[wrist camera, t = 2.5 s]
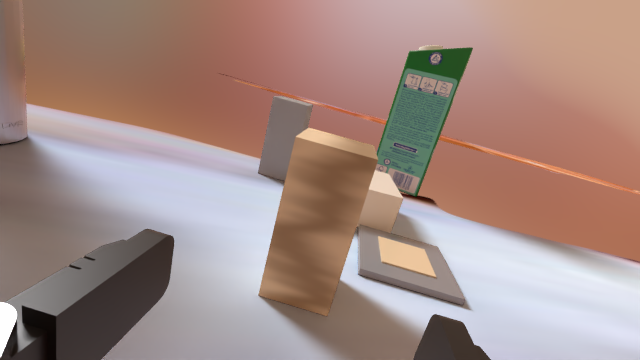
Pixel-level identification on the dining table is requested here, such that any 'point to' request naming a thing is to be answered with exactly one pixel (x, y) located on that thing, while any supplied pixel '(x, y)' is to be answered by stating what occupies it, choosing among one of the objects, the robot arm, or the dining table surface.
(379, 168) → the milk carton
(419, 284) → the tile
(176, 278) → the dining table surface
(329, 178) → the maple block
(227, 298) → the dining table surface
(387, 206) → the base block
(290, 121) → the slate block
